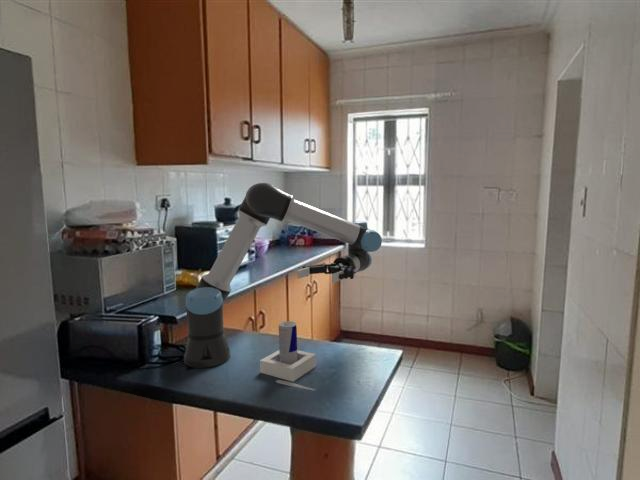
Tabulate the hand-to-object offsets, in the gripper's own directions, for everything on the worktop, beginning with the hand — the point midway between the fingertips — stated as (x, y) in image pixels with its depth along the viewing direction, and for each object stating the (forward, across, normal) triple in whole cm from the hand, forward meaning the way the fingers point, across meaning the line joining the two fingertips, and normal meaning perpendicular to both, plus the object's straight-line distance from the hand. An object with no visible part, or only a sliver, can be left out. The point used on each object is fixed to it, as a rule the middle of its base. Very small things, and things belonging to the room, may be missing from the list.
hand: (314, 276), depth 136 cm
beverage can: (+12, +3, -28) cm, 31 cm away
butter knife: (+18, -12, -29) cm, 36 cm away
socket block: (+12, +3, -28) cm, 30 cm away
